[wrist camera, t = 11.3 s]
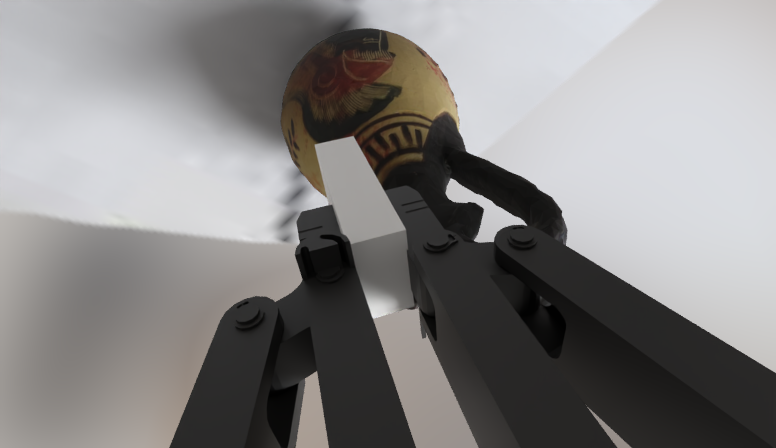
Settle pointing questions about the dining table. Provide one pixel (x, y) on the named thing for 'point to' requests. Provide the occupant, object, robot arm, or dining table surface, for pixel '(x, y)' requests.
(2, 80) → the dining table surface
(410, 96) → the ceramic jug
